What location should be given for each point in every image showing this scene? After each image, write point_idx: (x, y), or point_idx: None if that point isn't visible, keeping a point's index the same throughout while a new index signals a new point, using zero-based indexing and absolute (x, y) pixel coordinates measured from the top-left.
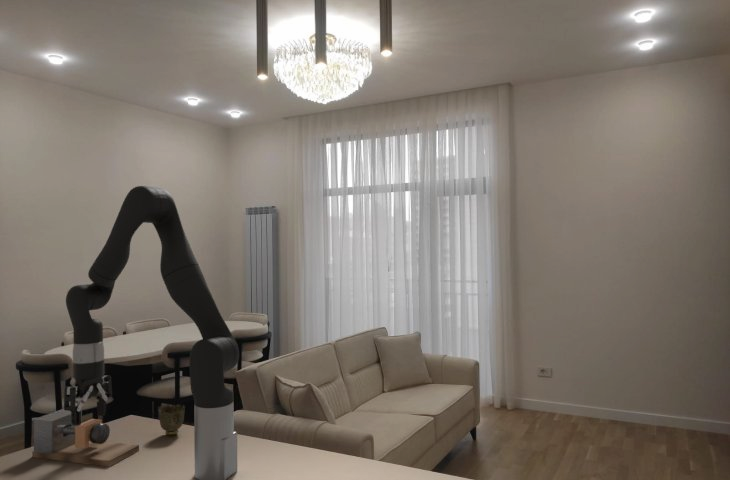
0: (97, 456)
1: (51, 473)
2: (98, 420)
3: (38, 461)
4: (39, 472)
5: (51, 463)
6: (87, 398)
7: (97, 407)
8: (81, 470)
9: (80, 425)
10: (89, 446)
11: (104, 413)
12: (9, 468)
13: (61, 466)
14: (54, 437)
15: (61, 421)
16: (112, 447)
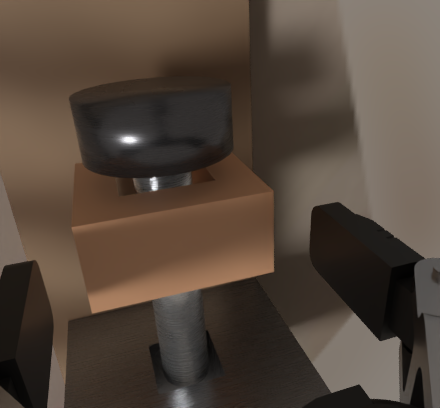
0: (213, 29)
1: (358, 132)
2: (102, 233)
3: (274, 291)
4: (357, 187)
5: (276, 229)
6: (361, 394)
7: (46, 374)
8: (307, 23)
9: (255, 248)
10: None
11: (18, 267)
12: (346, 312)
13: (291, 161)
14: (270, 328)
15: (252, 402)
16: (62, 60)
